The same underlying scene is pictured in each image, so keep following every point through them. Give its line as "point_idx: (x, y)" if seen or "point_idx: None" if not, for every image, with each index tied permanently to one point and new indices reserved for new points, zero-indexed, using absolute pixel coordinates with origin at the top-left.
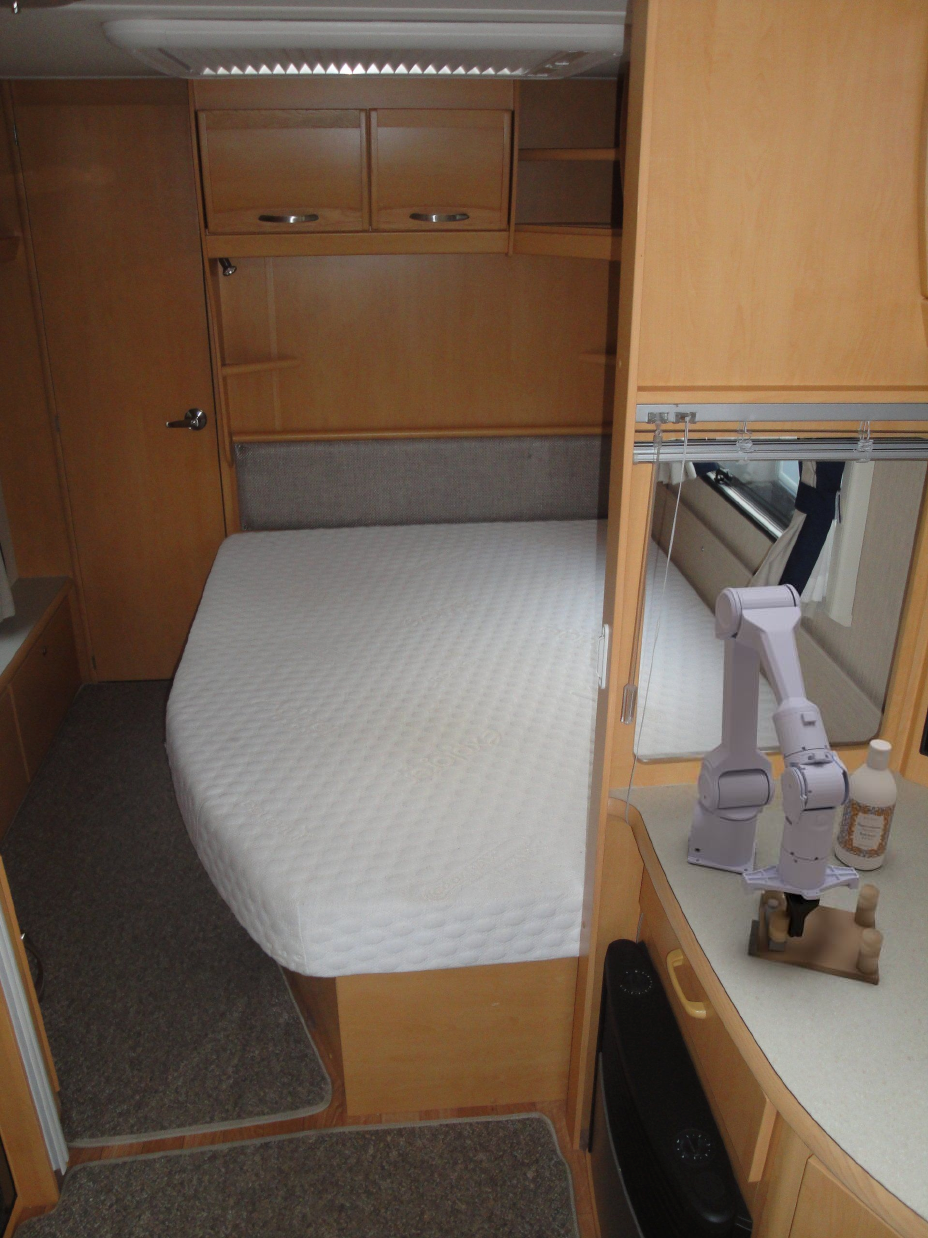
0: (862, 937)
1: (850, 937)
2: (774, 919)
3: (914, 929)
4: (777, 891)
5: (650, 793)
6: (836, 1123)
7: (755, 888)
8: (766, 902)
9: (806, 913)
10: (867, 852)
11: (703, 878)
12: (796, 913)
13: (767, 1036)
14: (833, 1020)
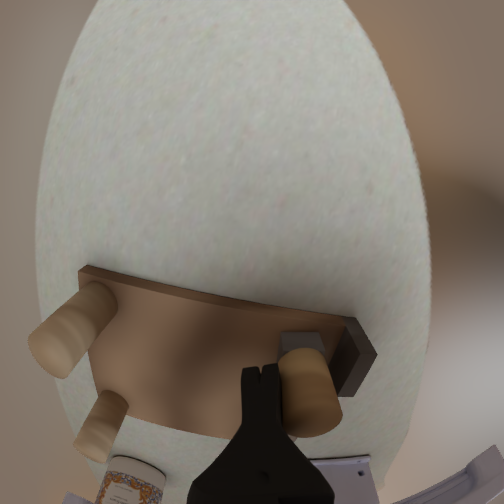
0: (73, 356)
1: (130, 374)
2: (339, 405)
3: (58, 379)
4: None
5: None
6: None
7: (460, 480)
8: None
9: (242, 445)
10: (122, 480)
11: (361, 443)
12: (287, 442)
13: (361, 75)
14: (191, 134)
